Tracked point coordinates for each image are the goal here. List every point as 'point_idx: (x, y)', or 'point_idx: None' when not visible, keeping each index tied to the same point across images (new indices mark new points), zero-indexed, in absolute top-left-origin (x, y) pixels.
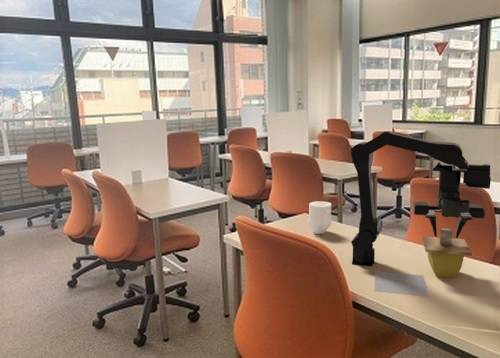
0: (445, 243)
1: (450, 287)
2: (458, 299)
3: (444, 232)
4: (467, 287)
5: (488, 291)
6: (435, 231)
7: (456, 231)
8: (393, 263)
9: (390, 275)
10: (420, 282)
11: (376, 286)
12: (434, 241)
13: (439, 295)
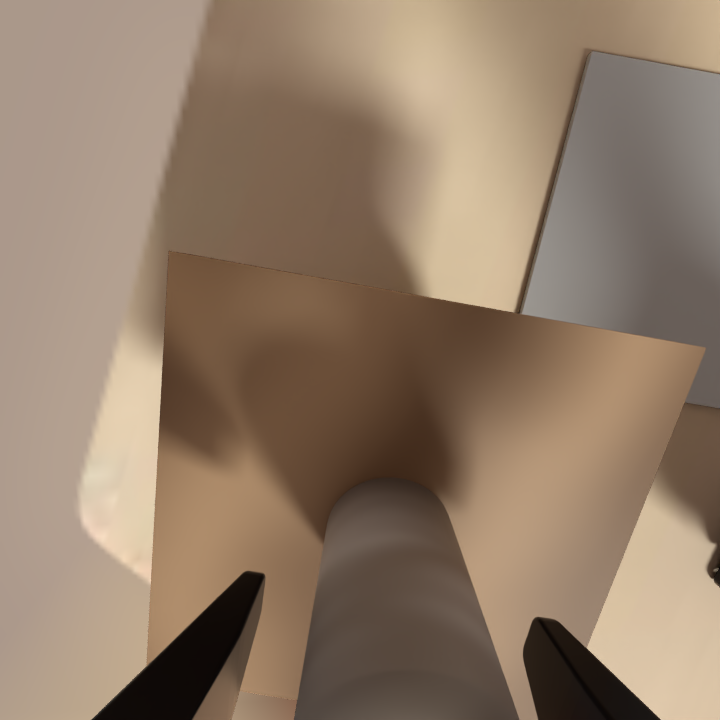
0: (414, 499)
1: (398, 225)
2: (409, 46)
3: (477, 660)
4: (300, 233)
5: (198, 185)
6: (628, 716)
7: (216, 703)
8: None
9: (706, 358)
10: (560, 269)
11: None
12: (482, 604)
13: (505, 98)
